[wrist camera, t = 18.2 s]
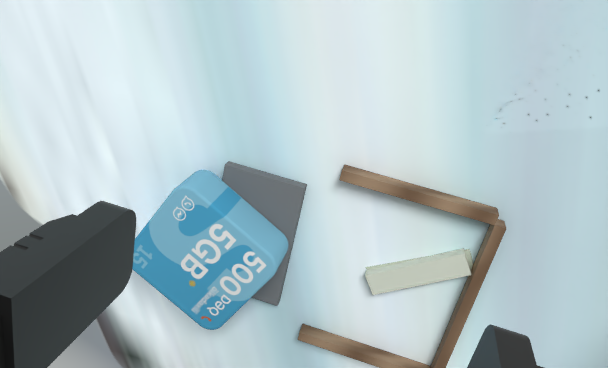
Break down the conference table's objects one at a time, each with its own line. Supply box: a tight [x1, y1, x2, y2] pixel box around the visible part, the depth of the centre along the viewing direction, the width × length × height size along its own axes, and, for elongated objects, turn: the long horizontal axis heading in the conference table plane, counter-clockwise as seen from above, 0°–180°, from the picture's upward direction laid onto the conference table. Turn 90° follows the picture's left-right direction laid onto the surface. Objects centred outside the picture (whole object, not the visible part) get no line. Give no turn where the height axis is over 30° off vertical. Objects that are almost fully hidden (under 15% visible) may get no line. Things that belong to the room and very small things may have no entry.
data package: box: [132, 170, 288, 330], centre depth 49 cm, size 12×4×12 cm
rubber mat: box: [222, 162, 307, 306], centre depth 51 cm, size 8×14×1 cm, turn 168°
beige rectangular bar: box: [365, 248, 473, 295], centre depth 48 cm, size 3×10×2 cm, turn 109°
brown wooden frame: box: [298, 165, 506, 368], centre depth 49 cm, size 15×20×2 cm
